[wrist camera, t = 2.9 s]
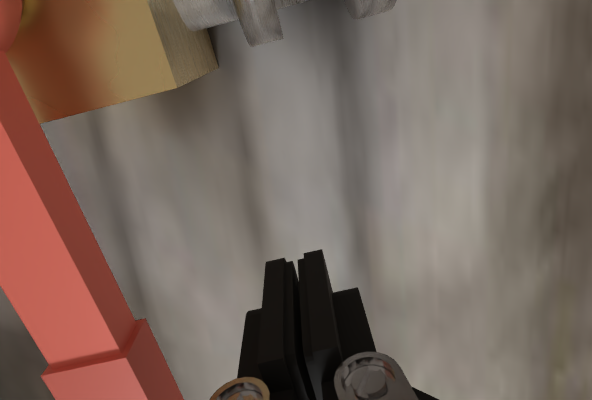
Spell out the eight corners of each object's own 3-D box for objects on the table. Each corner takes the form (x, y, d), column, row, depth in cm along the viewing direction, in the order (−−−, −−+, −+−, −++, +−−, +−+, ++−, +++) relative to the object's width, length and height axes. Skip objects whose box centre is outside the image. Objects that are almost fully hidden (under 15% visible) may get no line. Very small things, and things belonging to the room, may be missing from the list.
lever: (212, 408, 14) (204, 454, 12) (100, 431, 14) (78, 478, 12) (-39, -164, 8) (-115, -211, 6) (-224, -106, 8) (-338, -138, 7)
